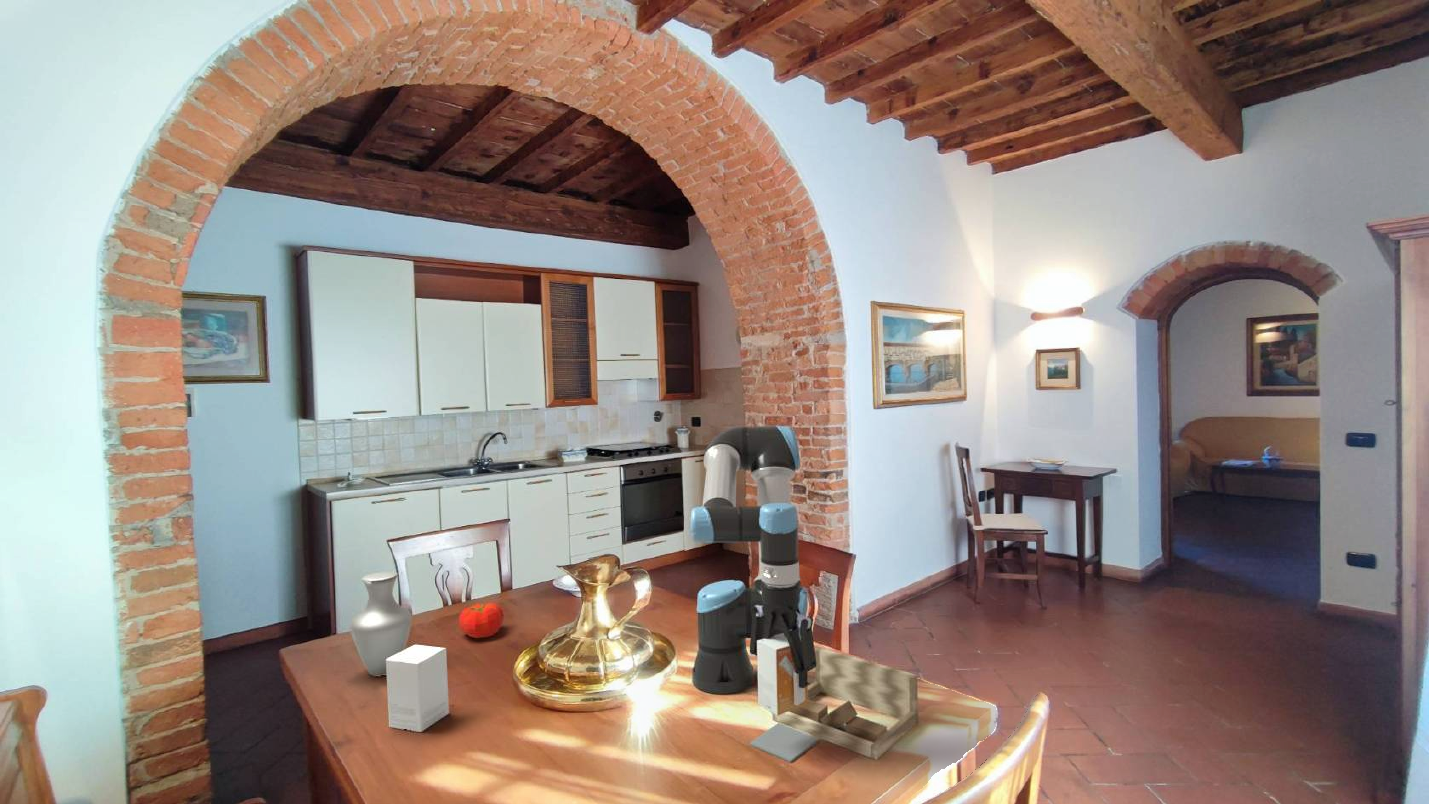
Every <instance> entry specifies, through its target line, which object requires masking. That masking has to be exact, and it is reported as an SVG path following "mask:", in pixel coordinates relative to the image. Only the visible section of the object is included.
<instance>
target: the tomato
mask: <svg viewBox="0 0 1429 804" xmlns="http://www.w3.org/2000/svg"><path fill="white" fill-rule="evenodd" d="M503 622H504V611H503V609H502V607H501V606H500V605H498V604H497V603H494V602H487V603H485V602H484V603H477V604H473V605H472V606H470V607H467V608H464V609H463V610H462V611H461V612H460V614H459V617H458V624H459V628H460V631H461V632H462V633H463V634H466V635H468V636H469V637H472V638H474V639H480V638H490V637H492V636H494V635H495V634H496V633H498V632H499V631H500V628H501V626H502V625H503ZM489 636H490V637H489Z"/></svg>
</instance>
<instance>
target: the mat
mask: <svg viewBox="0 0 1429 804" xmlns="http://www.w3.org/2000/svg"><path fill="white" fill-rule="evenodd" d="M819 741H820V738H818V737H816V736H813V735H811V734H808V733H805V732H803V731H800V730H798V729H795V728H792V727H790V726H787V725H785V724H782V723H779V722H777V724H775V725H774V726H772V727H770V728H769V729H767V730H766V731H764V732H763V733H761V734H760V735H759V736H757V737H756V738H754V739H753V740H752V741H749V743H748V745H749V747H750V746H751V747H753V748H755V749H758V750H760V751H762V752H765V753H768V755H769V754H770V755H771V756H774V757H776V758H779V759H781V760H784V761H786V762H788V763H792V762H793V761H795V760H796V759H797V758H799V757H800V756H801V755H802V754H804V753H805V752H806V751H807V750H809V749H811V748H812V747H813V746H814V745H816V744H817V743H818V742H819Z"/></svg>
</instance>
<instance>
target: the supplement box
mask: <svg viewBox="0 0 1429 804" xmlns="http://www.w3.org/2000/svg"><path fill="white" fill-rule="evenodd" d="M447 660H448V659H447V648H446V647H437V646H429V645H420V644H413V645H412V646H410V647H406V648H405V650H404V651H402V652H400V653H397V654H395V655H393V656H391V657H389V658H388V659H386V672H387V675H386V688H387V690H386V691H387V706H388V707H387V709H388V710H387V711H388V727H389V728H393V729H398V730H399V729H400V730H404V729H407V731H410V730H411V731H412V732H418V733H422V732H424V731H425V730H426V729H428V728H429V727H430V726H432V725H434V724H435V723H437V722H438V721H439V720H441V719H443V718H444V717H446V716H447V715H449V713H450V709H449V708H450V707H449V687H448V686H449V685H448V663H447V662H448V661H447ZM411 731H410V732H411Z"/></svg>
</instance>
